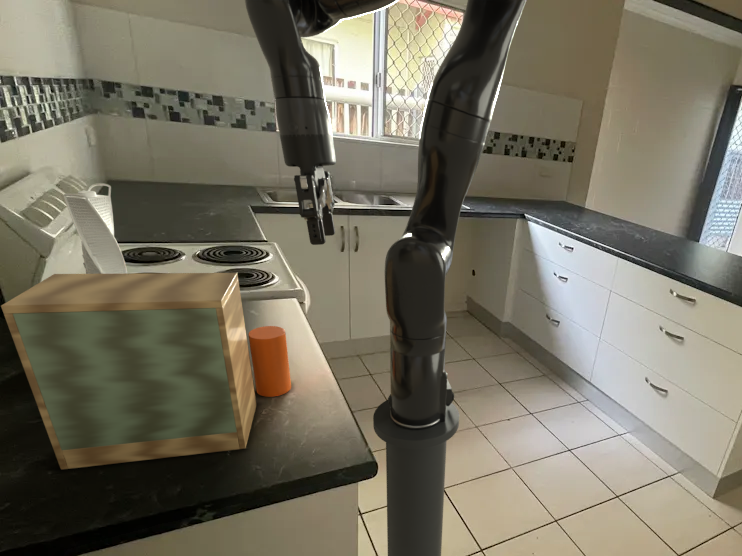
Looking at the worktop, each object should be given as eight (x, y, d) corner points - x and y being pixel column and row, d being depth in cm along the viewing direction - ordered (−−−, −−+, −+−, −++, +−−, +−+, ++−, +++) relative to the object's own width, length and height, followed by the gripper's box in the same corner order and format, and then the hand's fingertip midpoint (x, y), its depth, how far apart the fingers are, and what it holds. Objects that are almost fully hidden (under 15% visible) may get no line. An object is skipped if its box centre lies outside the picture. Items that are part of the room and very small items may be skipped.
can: (292, 379, 88) (286, 325, 83) (290, 395, 83) (283, 338, 78) (258, 382, 86) (250, 326, 81) (254, 398, 81) (245, 340, 76)
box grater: (139, 303, 113) (109, 180, 101) (142, 314, 107) (111, 186, 96) (93, 308, 108) (56, 180, 96) (93, 320, 102) (55, 186, 91)
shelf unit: (256, 404, 79) (237, 272, 70) (245, 448, 69) (221, 300, 60) (98, 418, 72) (53, 273, 63) (60, 469, 62) (0, 305, 53)
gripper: (322, 130, 66) (340, 246, 72) (339, 133, 79) (353, 231, 85) (265, 131, 65) (288, 249, 71) (292, 134, 78) (309, 233, 84)
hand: (323, 239), depth 78 cm, fingers open, 8 cm apart
